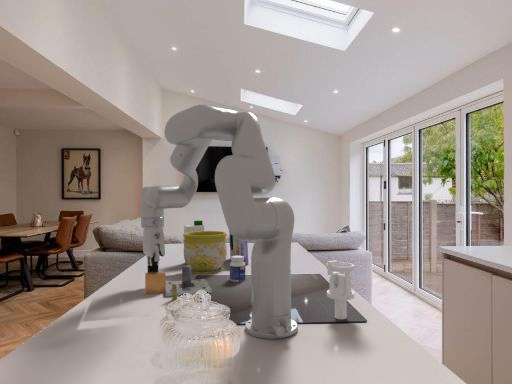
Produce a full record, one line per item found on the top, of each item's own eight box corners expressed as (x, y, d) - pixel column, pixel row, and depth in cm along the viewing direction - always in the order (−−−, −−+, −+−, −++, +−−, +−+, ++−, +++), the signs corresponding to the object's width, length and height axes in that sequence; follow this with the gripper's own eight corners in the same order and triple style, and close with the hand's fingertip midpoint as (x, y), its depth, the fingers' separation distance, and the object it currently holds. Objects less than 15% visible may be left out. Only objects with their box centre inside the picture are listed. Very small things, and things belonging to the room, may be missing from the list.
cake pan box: (228, 258, 182) (228, 223, 182) (238, 257, 184) (238, 223, 184) (238, 265, 164) (238, 226, 164) (248, 264, 165) (248, 226, 165)
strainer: (321, 314, 96) (321, 258, 96) (344, 311, 99) (343, 257, 99) (336, 323, 90) (336, 263, 90) (360, 319, 92) (359, 261, 92)
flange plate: (204, 282, 127) (204, 265, 127) (211, 292, 113) (211, 273, 114) (145, 287, 121) (145, 269, 121) (145, 298, 108) (145, 278, 108)
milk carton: (206, 264, 167) (205, 221, 168) (187, 266, 164) (186, 222, 164) (200, 261, 175) (200, 220, 175) (182, 262, 172) (182, 220, 172)
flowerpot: (232, 274, 145) (232, 234, 145) (188, 279, 138) (187, 236, 138) (220, 266, 162) (220, 230, 162) (180, 270, 155) (179, 232, 155)
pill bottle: (243, 286, 127) (243, 258, 127) (227, 285, 128) (227, 257, 128) (247, 282, 133) (246, 255, 133) (232, 281, 134) (231, 254, 134)
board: (234, 300, 110) (234, 271, 110) (145, 309, 102) (145, 278, 102) (218, 281, 134) (217, 257, 134) (145, 287, 127) (145, 261, 127)
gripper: (170, 223, 118) (171, 279, 118) (156, 220, 131) (156, 271, 130) (148, 225, 114) (148, 282, 114) (135, 222, 126) (135, 274, 126)
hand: (153, 276), depth 122 cm, fingers closed
